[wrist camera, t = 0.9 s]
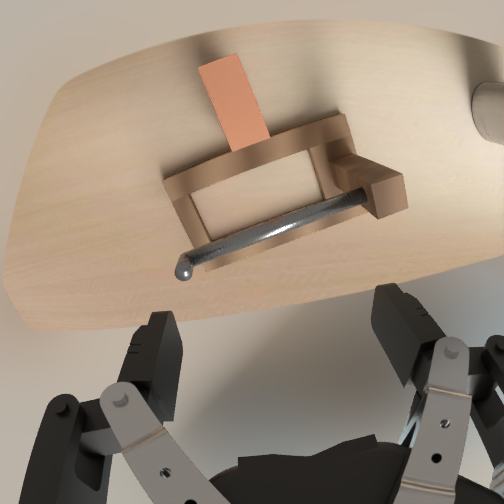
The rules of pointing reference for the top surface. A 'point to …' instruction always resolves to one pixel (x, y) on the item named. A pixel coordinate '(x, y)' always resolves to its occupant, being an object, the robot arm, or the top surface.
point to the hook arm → (267, 230)
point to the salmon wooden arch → (234, 102)
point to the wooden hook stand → (327, 170)
